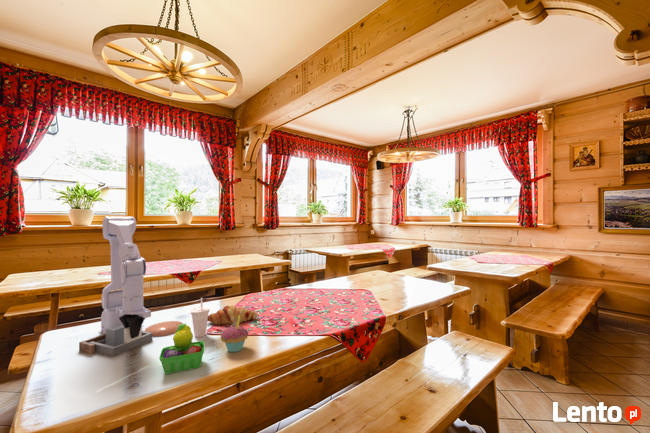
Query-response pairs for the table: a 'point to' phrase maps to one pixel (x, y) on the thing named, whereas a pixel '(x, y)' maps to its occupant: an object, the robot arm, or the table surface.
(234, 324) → the figurine
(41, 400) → the table surface
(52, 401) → the table surface
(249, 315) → the croissant
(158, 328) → the plate
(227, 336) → the cupcake
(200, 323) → the smoothie
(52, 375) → the table surface
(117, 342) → the grey block
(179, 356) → the fruit basket
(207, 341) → the table surface
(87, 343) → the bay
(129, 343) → the grey square tray
